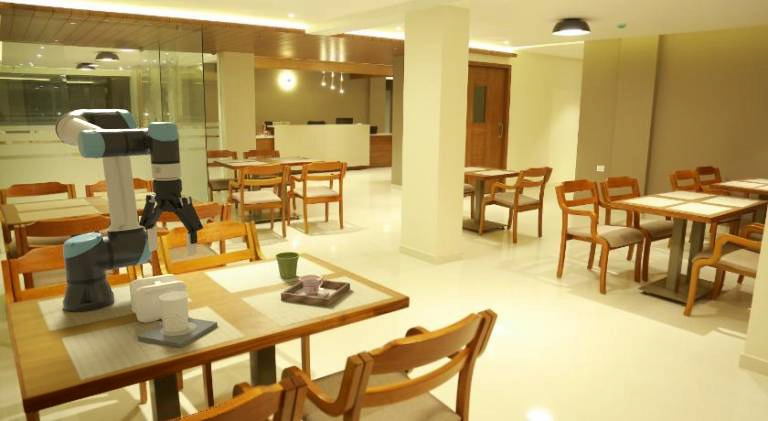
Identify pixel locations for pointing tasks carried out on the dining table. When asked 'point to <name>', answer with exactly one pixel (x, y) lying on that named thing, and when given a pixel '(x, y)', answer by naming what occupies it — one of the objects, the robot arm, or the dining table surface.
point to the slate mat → (178, 333)
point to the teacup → (312, 286)
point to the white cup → (174, 311)
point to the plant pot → (287, 264)
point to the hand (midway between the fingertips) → (172, 252)
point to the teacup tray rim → (290, 296)
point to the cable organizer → (152, 295)
